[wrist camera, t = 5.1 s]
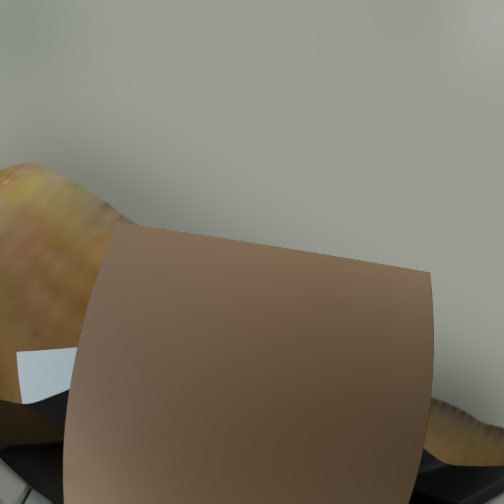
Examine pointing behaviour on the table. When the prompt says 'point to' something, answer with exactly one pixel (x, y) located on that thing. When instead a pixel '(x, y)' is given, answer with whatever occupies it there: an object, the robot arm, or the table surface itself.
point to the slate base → (44, 373)
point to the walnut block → (247, 376)
